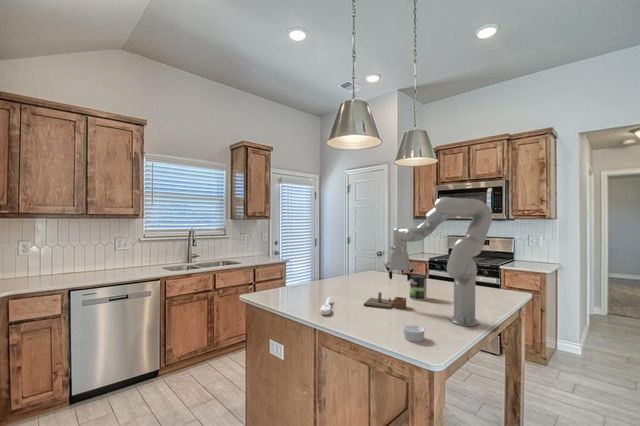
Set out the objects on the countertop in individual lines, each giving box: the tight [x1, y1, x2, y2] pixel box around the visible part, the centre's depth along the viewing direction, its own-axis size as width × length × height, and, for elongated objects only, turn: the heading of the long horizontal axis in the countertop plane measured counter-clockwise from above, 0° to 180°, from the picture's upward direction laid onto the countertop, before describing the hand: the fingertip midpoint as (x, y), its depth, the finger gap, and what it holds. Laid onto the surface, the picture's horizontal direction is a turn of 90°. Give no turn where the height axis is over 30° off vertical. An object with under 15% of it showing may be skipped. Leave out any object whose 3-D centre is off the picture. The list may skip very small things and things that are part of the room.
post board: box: [363, 291, 394, 310], centre depth 187 cm, size 15×15×7 cm
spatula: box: [319, 296, 332, 316], centre depth 179 cm, size 28×6×3 cm, turn 173°
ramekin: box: [402, 324, 426, 343], centre depth 135 cm, size 9×9×4 cm
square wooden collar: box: [393, 296, 407, 310], centre depth 183 cm, size 10×6×5 cm, turn 157°
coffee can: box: [409, 273, 428, 301], centre depth 201 cm, size 10×10×14 cm
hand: (399, 279), depth 181 cm, fingers open, 9 cm apart
